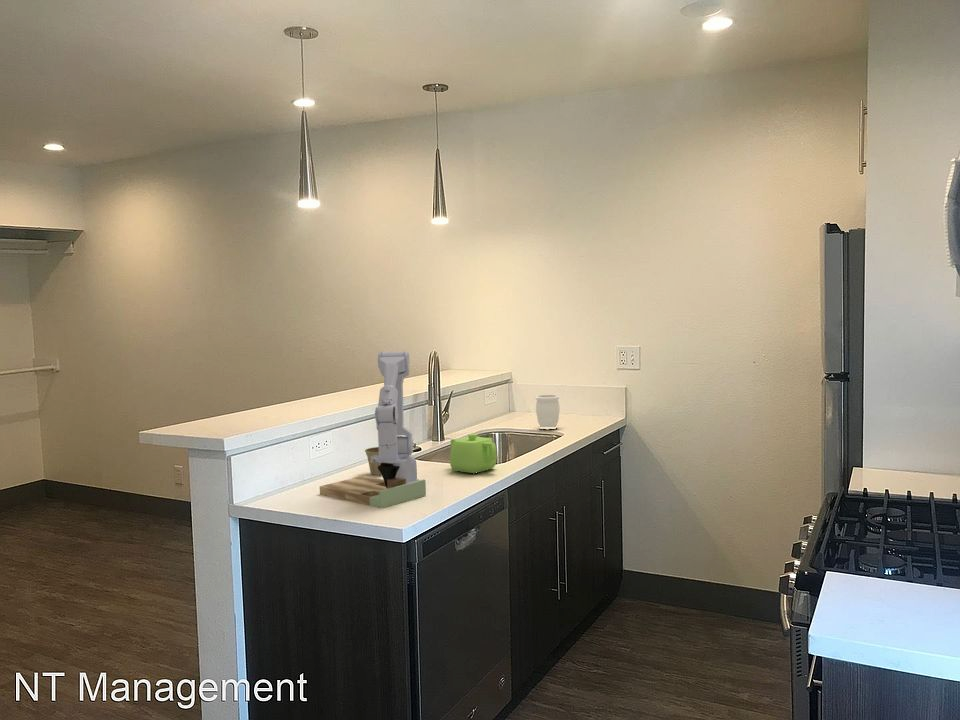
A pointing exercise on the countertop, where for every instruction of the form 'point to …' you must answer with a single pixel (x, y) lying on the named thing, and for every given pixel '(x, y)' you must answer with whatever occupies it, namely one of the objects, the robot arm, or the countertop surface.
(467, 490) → the countertop surface
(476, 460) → the teapot
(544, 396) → the jar
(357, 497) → the box
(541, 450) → the countertop surface
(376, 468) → the flower pot
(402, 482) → the walnut block
